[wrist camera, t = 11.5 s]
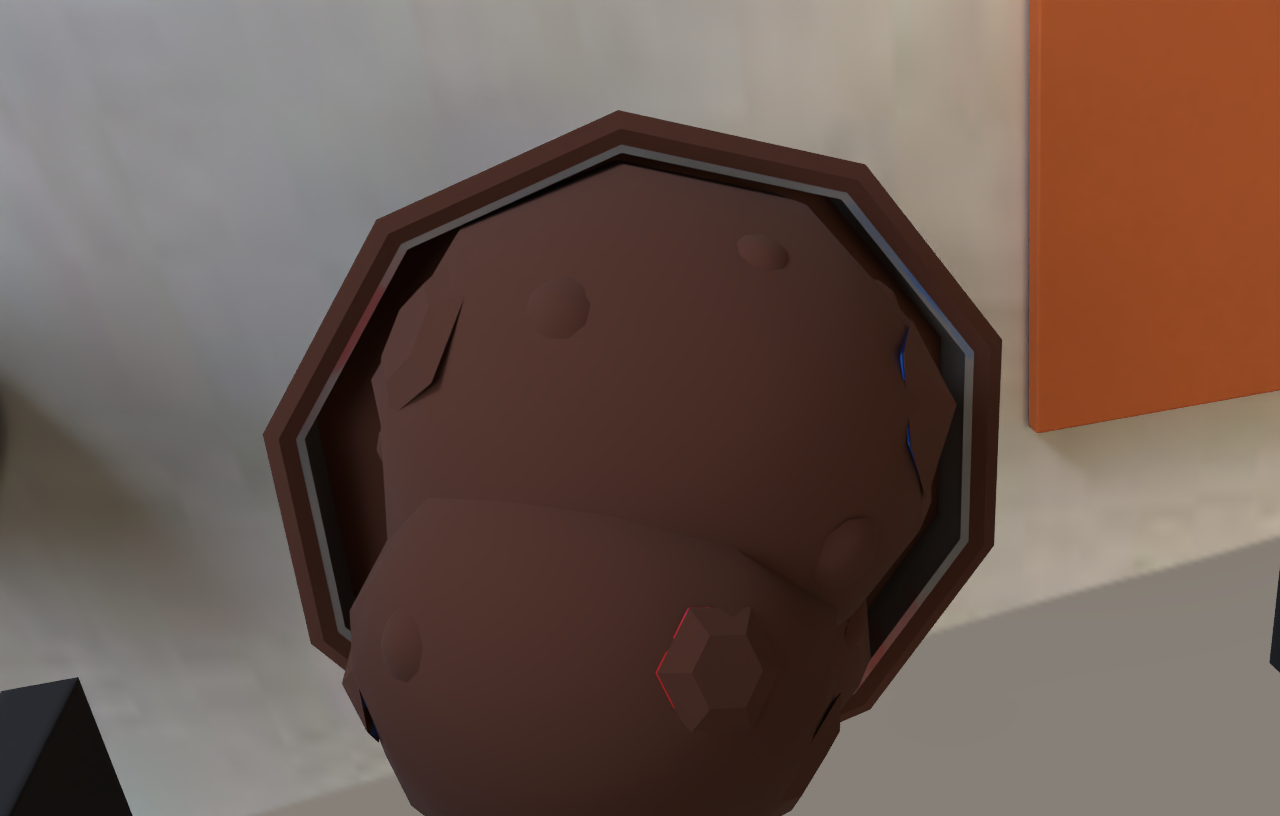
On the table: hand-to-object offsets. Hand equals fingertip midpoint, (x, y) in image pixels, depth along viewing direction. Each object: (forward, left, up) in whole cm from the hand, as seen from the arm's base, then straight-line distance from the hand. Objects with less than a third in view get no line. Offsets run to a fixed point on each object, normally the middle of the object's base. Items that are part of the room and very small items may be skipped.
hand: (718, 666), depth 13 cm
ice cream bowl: (0, 0, -15) cm, 15 cm away
